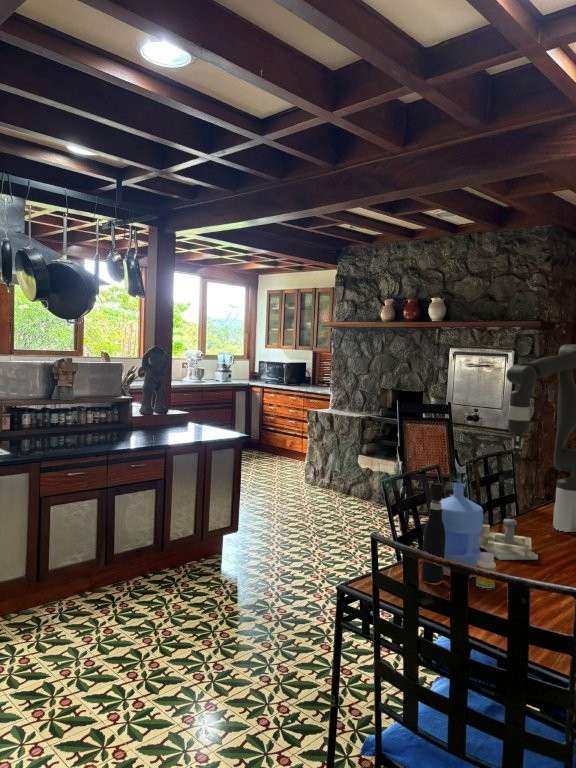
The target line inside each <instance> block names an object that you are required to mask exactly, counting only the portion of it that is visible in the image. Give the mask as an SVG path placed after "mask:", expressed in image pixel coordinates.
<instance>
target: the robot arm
mask: <svg viewBox="0 0 576 768" xmlns="http://www.w3.org/2000/svg"><path fill="white" fill-rule="evenodd" d="M573 369H576V344H572V343H571V344H569V343H568V344H567V343H566V344H563V345H561V346H560V347H559V350H558V353H557V355H551V356H544V357H541V358H538V359H534V360H533V361H530V362H529V361H528V362H523V363H518V364H513V365H512V366H510V367H509V368H508V369H507V371H506V379H507V380H508V382H510V383H511V384H515V385H516V384H517V385H520V386H519V389H516V390H512V391H511V392H510V396H509V408H508V409H509V410H508V416H507V431H509V432H514V434H512V436H511V441H512V445H511V446H512V448H513V449H512V452H513V457H512V458H513V460H512V463H513V464H520V460H521V453H522V448H523V442H524V436H523V433H528V432H530V422H531V409H530V408H531V396H532V392H533V391H534V386H535V384H536V381H537V379H541V378H545V377H548V376H550V375H553V374H556V373H558V374H557V376H558V392H557V393H558V395H557V396H558V398H557V409H556V411H557V412H556V413H557V414H556V415H557V417H556V418H557V419H556V425H557V426H556V435H555V437H556V438H555V444H554V451H553V466H554V468H555V470H558V471H563V472H569V473H572V474H571V476H569V477H566V478H565V477H564V478H560V479H557V481H556V488H555V504H554V505H553V519H552V520H553V521H552V527H553V526H554V527H553V529H554V528H555V529H556V531H557V530H559V531H558V532H560V531H564V532H563V533H565V532H576V449H575V448H568V447H567V448H566V444H567V441H568V439H569V436H570V434H571V433H572V432H573V431H574V430H575V428H576V383H575V381H574V374H573V372H574V371H573ZM555 529H554V530H555Z"/></svg>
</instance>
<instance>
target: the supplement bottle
mask: <svg viewBox="0 0 576 768" xmlns="http://www.w3.org/2000/svg"><path fill="white" fill-rule="evenodd" d="M480 552H481V553H480V559H479V560H478V561H477V567H478V568H482V569H486V570H490V571H494V572H496V571H497V570H496V569H497V565H496V562H495V561H494V560H495V556H494V555H493V554H492V553H489V552H488V551H480ZM475 585H476V587H478V586H479V587H478V588H480V587H482V588H481V589H483V588H493V587H494V588H495V586H496V580H495V581H492V580H488V579H485V578H481V577H477V576H475ZM494 588H493V589H494Z"/></svg>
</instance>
